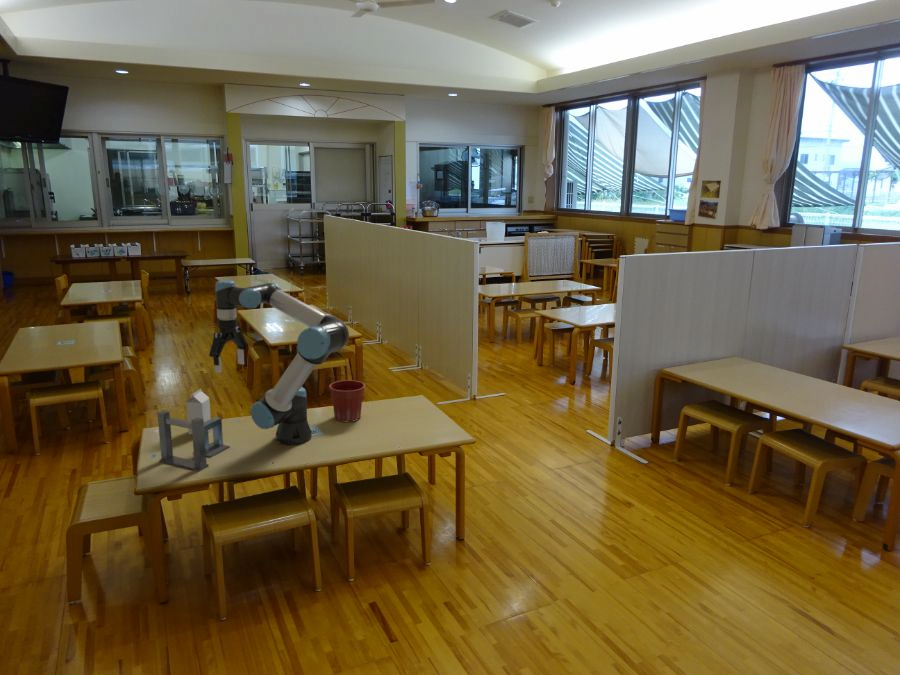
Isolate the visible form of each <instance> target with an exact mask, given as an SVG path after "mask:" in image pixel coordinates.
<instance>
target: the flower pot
mask: <svg viewBox="0 0 900 675" xmlns="http://www.w3.org/2000/svg"><path fill="white" fill-rule="evenodd" d="M328 387H329V389H330V393H331V398H332V405H333V414H334V416H333V417H334V420H336V421H338V420H339V421H338V422H344V421H352V422H354V421H353V420H356V419H358V418H359V419H361V416H362V415H361V414H362V406H363V405H362V404H363V395H364V390H365V387H366V384H365V383H364V382H362V381H360V380H351V379H350V380H349V379H348V380H347V379H346V380H345V379H343V380H337V381H334V382H332V383H330V384H329V386H328ZM359 419H358V420H359ZM356 421H357V420H356Z"/></svg>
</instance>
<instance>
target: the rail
mask: <svg viewBox="0 0 900 675" xmlns="http://www.w3.org/2000/svg"><path fill="white" fill-rule="evenodd" d="M157 423H158V435H159V445H160V459H159V462H160V463H163V464H168V465H172V466H176V467H179V468H184V469H188V470H192V471H197V472H201V471H203V470H204V469H207V468H208V467H209V465H210V464H208V463H207V457H206V449H205V435H204V421H203V419H202V418H195V419H193V420H191V422H190V421H187V419H181V418H175V417H171V414H170V411H168V410H161V411H159V412H157ZM172 426H175V427H180V428H184V429H187V430H188V429H192V435H191V436H192V448H193V452H194V453H193V460H192V459H188V458H183V457H179V456H175V455H174V451H173V441H172V439H173V438H172V428H171V427H172Z"/></svg>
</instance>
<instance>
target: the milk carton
mask: <svg viewBox="0 0 900 675" xmlns="http://www.w3.org/2000/svg"><path fill="white" fill-rule="evenodd" d="M189 397H190V399H188V400H187V401H186V402H185V404H186V405H185V408H186V421H190V422H191V420H193V419H195V418H202V419H203V421H204V422H206V421H208V420H210V419H212V418H211V417H212V416H211V403H210V396H208V395H207V394H205V393H204V392H203V391H202V388H199V389H198V390H197V391H195V392H193V393H191V394H190V395H189ZM210 431H212V429H210V430H208V433H209V432H210ZM187 433H188V435H189V436H192V429H188V428H187Z"/></svg>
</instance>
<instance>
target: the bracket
mask: <svg viewBox="0 0 900 675" xmlns="http://www.w3.org/2000/svg"><path fill="white" fill-rule="evenodd" d="M222 421H223V420H222V417H218V416H215V417H213V418H211V419H210V420H208V421H206V422H204V435H205V449H206V454H207V453H209V452H210V451H209V444H210V439H209V437H210V436H209V432H208V430H210V429H211V430H212V439H213V440H212V441H213V443H214V446H216V447H221V446H223V445H224V439H223V438H224V437H223V422H222ZM211 430H210V431H211Z"/></svg>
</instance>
